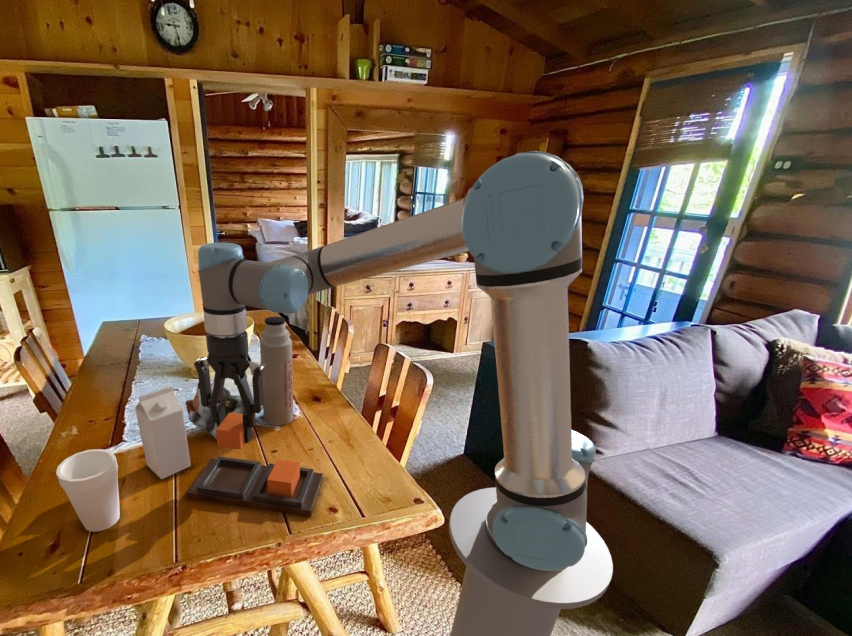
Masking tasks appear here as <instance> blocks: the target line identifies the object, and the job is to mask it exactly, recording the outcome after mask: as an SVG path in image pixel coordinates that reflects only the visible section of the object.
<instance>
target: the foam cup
mask: <svg viewBox="0 0 852 636" xmlns="http://www.w3.org/2000/svg"><path fill="white" fill-rule="evenodd" d="M118 472H119V466H118V461H117V457H116V455H115V454H114V453H113V452H112V451H111V450H107V449H103V448H97V449H95V448H94V449H86V450H83V451H80V452H76V453H74V454H72V455H70V456H68V457H67V458H65V459H64V460H63V461H61V463H60V464H59V465H57V468H56V472H55V475H56V479H57V480H58V484H59V486H60V487H61V488H62V489H63V491H64V493H65V495H66V496H67V499H68V500H69V502H70V504H71V506H72V508H73V509H74V511H75V513H76V515H77V517H78V518H79V520H80V523H81V525H82V526H83V527H84V529H85V530H86V531H89V532H92V533H95V532H102V531H105V530H107V529H110V528H111V527H113V526H114V525H115V524H117V523H118V521H119V520H120V518H121V517H120V516H121V507H120V495H119V493H120V492H119V480H118Z"/></svg>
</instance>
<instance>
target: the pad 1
mask: <svg viewBox="0 0 852 636" xmlns="http://www.w3.org/2000/svg"><path fill="white" fill-rule="evenodd" d="M242 415H243V414H238V413H229V414H228V415H227V416H226V418H225V419H224V420H223V421H222V423H221V424H220V425H219V426H218V428H217V429H216V436H217V439H216V443H217V447H220V448H228V449H235V450H242V448H243V447H244V446H245V444H246V443H245V440H244V427H243V416H242ZM253 432H254V427H253V428H252V433H253Z"/></svg>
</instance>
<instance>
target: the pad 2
mask: <svg viewBox="0 0 852 636" xmlns="http://www.w3.org/2000/svg"><path fill="white" fill-rule="evenodd" d="M274 464H275V465H274V467H273V469H272V471H271V473H270V475H269V477H268V479H267V487H268V495H274V496H280V497H287V498H292V496H293V494H294V491H295V489H296V486H297V484H298V481H299V478H300V467H301V462H298V461H292V460H284V459H276V461H275V463H274Z"/></svg>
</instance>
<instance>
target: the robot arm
mask: <svg viewBox="0 0 852 636" xmlns="http://www.w3.org/2000/svg"><path fill="white" fill-rule="evenodd" d="M583 204H584V189H583V184H582V180H581V178H580V176H579V175H578V172H576V170H575V169H574V168H573V166H572V165H570V164H569V163H568V162H567V161H564V159H562V158H560V157H559V156H558V155H556V154H551V153H550V152H546V151H537V150H531V151H526V152H517V153H515V154H514V155H510V156H509V157H504V158H502V159H500V160H499V161H498V162H496V163H494V164H493V165H491V166H490V167H489V168H487V169H486V170H485V171H484V172H483V173H482V174H481V175H480V176H479V177H478V178H477V180H476V181H475V182H474V183H473V185H472V186H471V187H470V188H469V189H468V190H467V193H466V194H465V196H464V197H463V198H461V199H457V200H455V201H452V202H448V203H446V204H443V205H440V206H437V207H434V208H430V209H428V210H425V211H422V212H419V213H416V214H413V215H411V216H408V217H404V218H401V219H399V220H395V221H393V222H390V223H387V224H384V225H382V226H379V227H376V228H375V227H374V228H372V229H369V230H367V231H364V232H360V233H358V234H355V235H351V236H348V237H345V238H343V239H340V240H337V241H334V242H331V243H328V244H325V245H323V246H319V247H316V248H313V249H310V250H307V251H304V252H301V253H298V254H294V255H291V256H287V257H283V258H279V259H276V260H272V261H257V260H251V259H250V260H249V259H246V258H244V257H245V256H244V253H243V247H241V245H239V244H236V243H234V242H209V243H204V244H202V245H201V246H199V248H198V249H197V272H198V278H199V284H200V293H201V302H202V311H203V321H204V322H203V323H204V331H205V332H206V334H205V340H206V341H205V342H206V350H207V353H208V354H207V355H206V357H204V356H200V357H199V358H198V359H197V360H195V361H194V362H193V365H194V368H195V370H196V372H197V377H198V383H199V388H200V397H201V405H202V406H203V407H206V406H207V407H209V408H210V409H211V411H212V419H213V422H214V423H217V428H218V426H219V425H220V424H221V423H222V421H223V420H224V419H225V418H226V417H225V406H220V404H221V403H222V402H221V399H222V394H223V388H224V387H225V382H226V379H228V380H229V379H230V380H233V383H234V385H235V386H236V387H237V391H238V394H239V396H240V397H241V400H242V403H243V406H244V408H245V412H244V414H243V415H242V416H243V427H244V440H245V444H249V442H250V441H251V439H252V438H253V432H252V428H253V429H254V427H255V425H256V423H257V418H256V414H260V413H261V412H262V410H263V407H264V394H263V377H262V374H263V371H264V368H265V365H264V364H263V363H261V362H260V363H257V362H254V361H252V358H251V356H250V355H249V336H248V335H249V334H248V332H247V329H248V321H247V309H246V308H247V307H252V308H255V309H256V308H257V309H261V310H265V311H269V312H272V313H275V314H296V313H298V312H299V311H301V309H302V306H304V305H305V304H306V301H307V299H308V296H310V295H313V294H316V293H319V292H322V291H323V292H324V291H326V290H329V289H333V288H336V287H341V286H344V285H347V284H351V283H355V282H359V281H362V280H366V279H370V278H373V277H377V276H380V275H384V274H389V273H392V272H395V271H399V270H400V271H401V270H403V269H407V268H411V267H414V266H419V265H422V264H426V263H429V262H434V261H437V260H441V259H444V258H449V257H453V256H456V255H460V254H463V253H468V252H469V253H470V255H471V256H472V257H473V262H474V264H473V265H474V271H475V272H474V273H475V282H476V287H477V288H478V289H480V290H481V291H482V292H483V293H485V294H486V295H487V296H488V297H489V298H490V306H491V307H490V308H491V317H492V319H491V320H492V329H493V331H492V332H493V341H494V354H495V365H496V366H495V367H496V376H497V387H498V388H497V389H498V400H499V409H500V410H499V412H500V423H501V433H502V434H501V435H502V446H503V458H502V459H501V460H499V461H498V463H496V465H495V467H494V481H495V487H496V495H497V502H496V503H495V504H493V505H492V506H493V507H492V506H491V507H492V508H491V509H490V511H489V512H488V515H487V518H486V522H485V531H486V534H487V537H488V539H489V540H490V542H491V543H492V545H493V546H494V547H495V548H496V549H497V550H498V551H499V552H501V553H502V554H503V555H504V556H506V557H507V558H509V559H511V560H513V561H514V562H517V563H519V564H521V565H524V566H527V567H529V568H533V569H537V570H543V571H559V570H564V569H566V568H567V567H569V566H570V567H571V566H574V565H575V564H577V563H578V562H579V561H580V560H581V558H582V556H583V554H584V551H585V547H586V545H587V535H586V522H587V510H588V509H587V508H588V480H589V479H588V478H589V474H590V470H591V467H592V465H593V463H595V461H596V459H595V456H596V451H597V449H596V446H595V444H594V442H593V441H592V440H590V438H589V437H587V436H585V435H583V434H581V433H580V432H578V431H576V430H573V429H572V406H571V405H572V403H571V401H572V400H571V372H570V371H571V369H570V368H571V366H570V363H571V362H570V335H569V334H570V332H569V331H570V330H569V327H570V325H569V300H568V299H569V295H568V294H569V290H568V289H569V286H570V284H571V283H572V282H573V281H574V280H575V279H576V278H577V277H578V276H579V275H580V274H581V273H582V272H583V239H582V238H583V237H582V236H583V235H582V232H583V230H582V229H583V227H582V211H583V206H584V205H583ZM246 306H247V307H246ZM210 368H211V369H212V370H213V371H214V376H213V377H214V378H213V381H214V388H213V393H211V384H212V383H211V373H210ZM248 369H249V370H250V375H251V376H252V378H251V382H252V383H251V384H252V391H251V388H250V385H249V382H248V375H247V372H246V371H247V370H248Z"/></svg>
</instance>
